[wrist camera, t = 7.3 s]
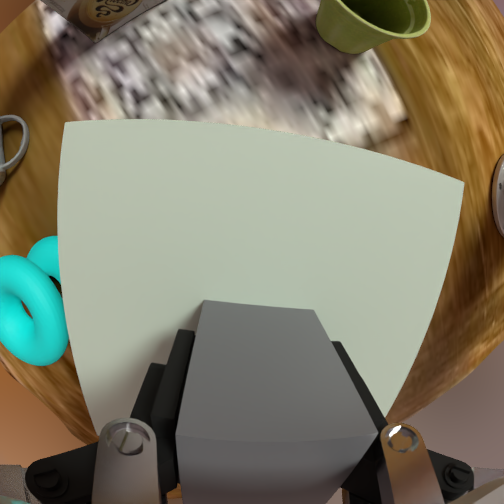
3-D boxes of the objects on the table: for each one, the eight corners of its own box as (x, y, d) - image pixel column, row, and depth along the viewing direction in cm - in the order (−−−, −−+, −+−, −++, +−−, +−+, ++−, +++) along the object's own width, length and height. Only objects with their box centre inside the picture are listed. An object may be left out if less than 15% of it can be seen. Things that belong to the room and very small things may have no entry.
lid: (453, 181, 10) (577, 204, 4) (359, 443, 14) (392, 524, 8) (75, 124, 9) (-59, 101, 2) (101, 426, 13) (66, 513, 6)
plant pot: (398, 67, 22) (447, 41, 13) (317, 74, 22) (352, 36, 14) (365, -2, 19) (400, -41, 11) (285, -1, 19) (303, -51, 11)
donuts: (-35, 287, 15) (12, 239, 14) (22, 257, 25) (76, 215, 24) (20, 380, 18) (81, 358, 17) (63, 331, 27) (123, 303, 27)
